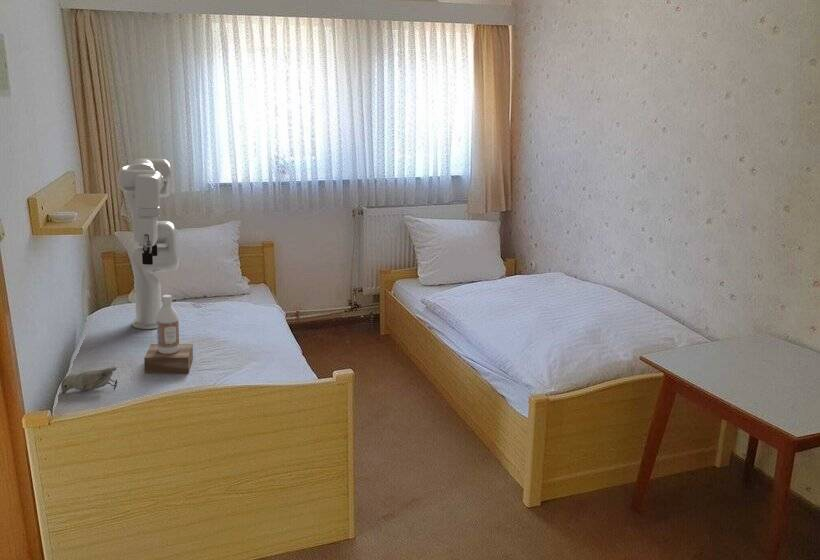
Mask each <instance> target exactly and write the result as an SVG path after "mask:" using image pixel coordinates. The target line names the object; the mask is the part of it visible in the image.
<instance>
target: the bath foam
mask: <svg viewBox="0 0 820 560" xmlns="http://www.w3.org/2000/svg"><path fill="white" fill-rule="evenodd" d="M172 299H173V298H172V295H171V294H164V295H161V309H160V311H159V312H158V315H157V328H156V335H157V344H158V351H159V352H160V353H162V354H173V353H176V352H177V351H179V344H180V325H179V314H178V312H177V311H176V309H175V308H174V307H173V305H172V304H173V302H172Z"/></svg>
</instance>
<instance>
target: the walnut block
mask: <svg viewBox="0 0 820 560" xmlns="http://www.w3.org/2000/svg"><path fill="white" fill-rule="evenodd" d="M193 347H194V345H193V343H179V351H177V352H176V353H173V354H162V353H160V352H159V351H158V343H150V345H149V347H148V349H147V351H146V354H145V356H144V358H143V360H144V361H143V362H144V375H189V374H190V371H191V368H192V367H191V366H192V364H193V360H194V351H193V350H194V348H193Z"/></svg>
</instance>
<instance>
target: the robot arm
mask: <svg viewBox="0 0 820 560" xmlns="http://www.w3.org/2000/svg"><path fill="white" fill-rule="evenodd" d="M172 171H173V170H172V166H171V164H170V162H169V161H168V160H167V159H165V158H146V157H145V158H142V157H141V158H136V159H134V160H133V161H132V162H131V163H130V164H129V165H124V166H122V167H120V168H119V170H118V173H117V182H118V187H119V189H120V190H121V191H122V192H123V194H124V197H125V200H126V202H127V203H128V206H129V209H130V212H131V224H132V225H131V226H132V236H133V239H134V240H133V241H134V242H135V244H137V245H138V246H139V247H138V248H136V249H134V250H133V251H132V252H131V253H130V264H131V269H132V273H133V282H134V298H135V303H134V304H135V319H133V321H132V326H133V328H136V329H139V330H152V329H157V315H158V312H159V311H160V309H161V308H162V290H161V288H162V287H161V280H160V279H159V277H158V276H157V275H156V274H155V273H157V272H173V271H175V270H177V269H178V268H179V263H180V259H179V258H180V257H179V248H178V236H177V229H176V226H175V224H174V222H172V221H169V220H158V218H159V217H161V205H160V203H161V201H160V200H161V199H160V198H167V197H169V195H170V194H171V191H172V181H173V180H172V178H173V172H172ZM159 245H160V246H161V245H163V246H161V247H159Z"/></svg>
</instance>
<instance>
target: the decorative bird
mask: <svg viewBox="0 0 820 560" xmlns="http://www.w3.org/2000/svg"><path fill="white" fill-rule="evenodd" d="M117 368H118V366H111V367H107V368H102V369H94V370H87V371H84V372H83V371H82V372H80V373H72V374H68V375H66V376H65V377H63V380H62V382H61V385H60V387H61V391H62V393H66V392H67V391H69V390H72V389H75V390H78V391H84V392H85V391H86V392H87V391H92V390H97V389H99V388H100V389H101V388H103V387H105V386H107V384H108V385H110V386H112V387H113V390H114V391H116V390H115V389H116V388H117V385H118V379H115V380H112V379H111V377H112V375H113V372H115V371H117ZM110 381H111V382H113V383H114V384H112V383H111V382H110Z"/></svg>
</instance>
